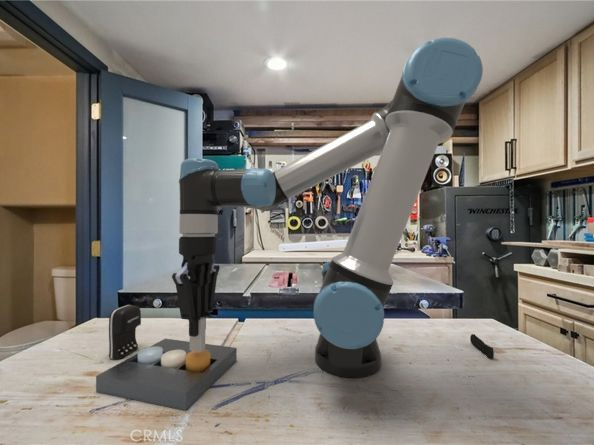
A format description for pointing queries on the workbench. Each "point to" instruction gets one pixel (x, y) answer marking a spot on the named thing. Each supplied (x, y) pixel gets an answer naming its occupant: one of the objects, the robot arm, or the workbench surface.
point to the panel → (165, 377)
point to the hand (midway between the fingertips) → (197, 349)
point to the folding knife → (482, 346)
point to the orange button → (198, 361)
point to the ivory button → (173, 359)
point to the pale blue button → (150, 355)
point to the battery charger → (123, 331)
